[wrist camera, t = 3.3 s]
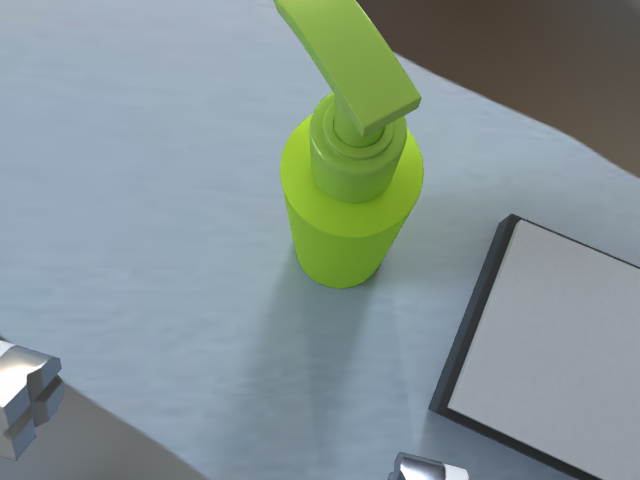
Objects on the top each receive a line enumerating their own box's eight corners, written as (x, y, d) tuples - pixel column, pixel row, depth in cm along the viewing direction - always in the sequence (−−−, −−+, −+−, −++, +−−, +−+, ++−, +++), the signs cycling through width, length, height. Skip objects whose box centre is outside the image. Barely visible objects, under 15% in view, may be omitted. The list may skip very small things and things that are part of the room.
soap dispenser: (346, 174, 35) (381, -75, 15) (401, 259, 33) (517, 105, 14) (271, 216, 34) (206, 10, 14) (324, 305, 32) (330, 210, 13)
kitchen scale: (635, 506, 29) (669, 521, 27) (427, 409, 31) (438, 413, 28) (691, 304, 32) (727, 297, 29) (499, 222, 34) (516, 208, 31)
